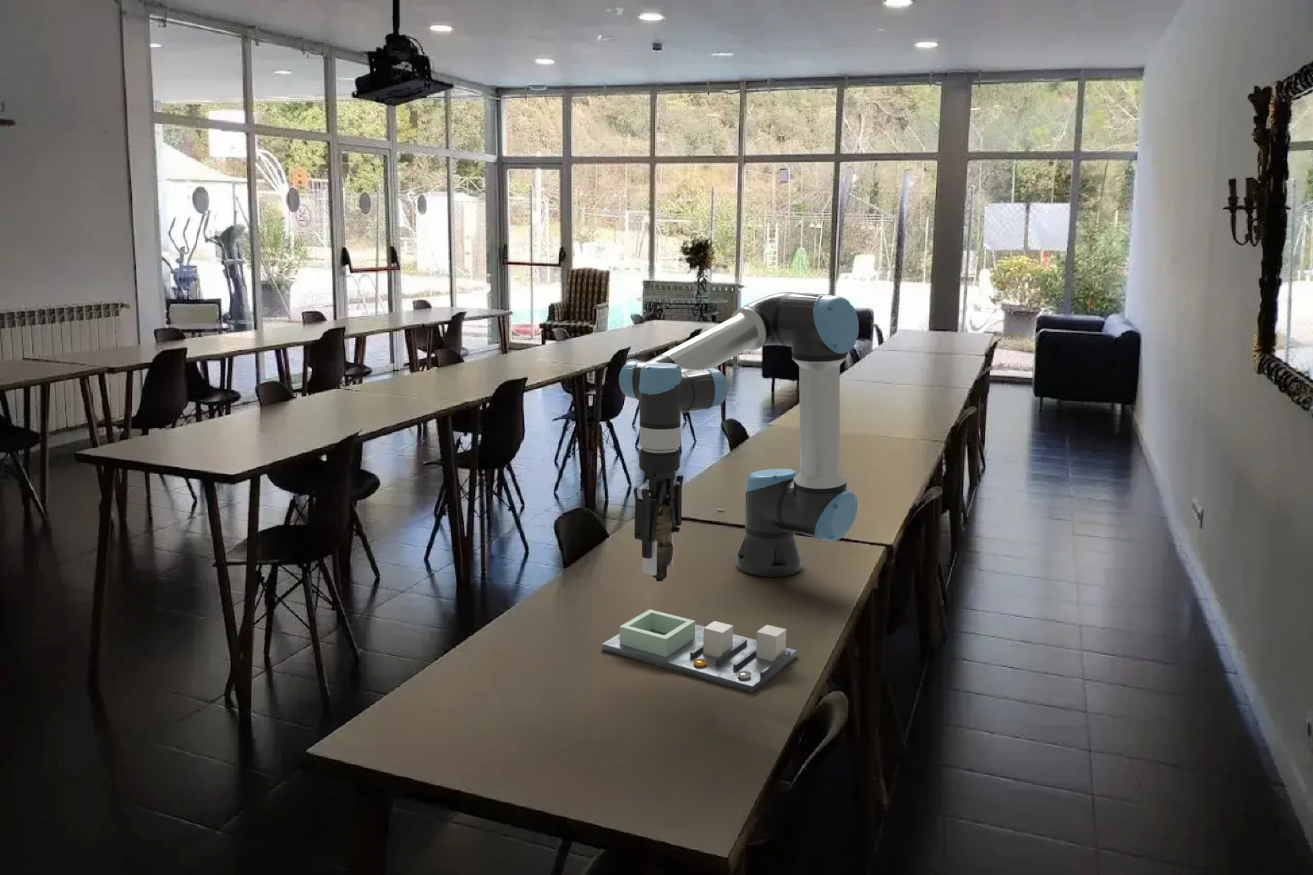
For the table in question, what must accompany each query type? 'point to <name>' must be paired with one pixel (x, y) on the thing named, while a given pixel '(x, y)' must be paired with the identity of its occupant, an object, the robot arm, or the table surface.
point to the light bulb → (663, 541)
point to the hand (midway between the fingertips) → (658, 568)
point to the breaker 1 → (717, 639)
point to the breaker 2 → (770, 642)
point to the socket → (663, 645)
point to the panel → (712, 661)
